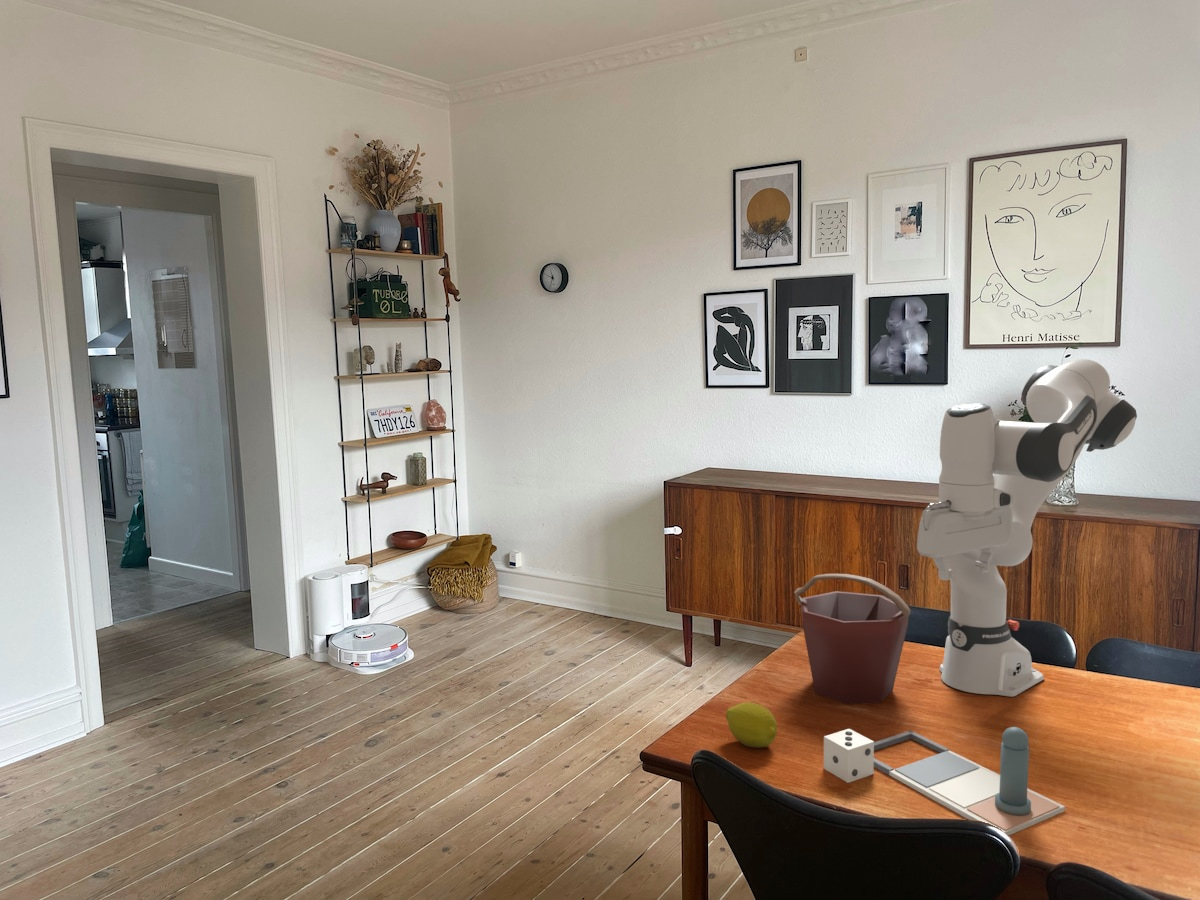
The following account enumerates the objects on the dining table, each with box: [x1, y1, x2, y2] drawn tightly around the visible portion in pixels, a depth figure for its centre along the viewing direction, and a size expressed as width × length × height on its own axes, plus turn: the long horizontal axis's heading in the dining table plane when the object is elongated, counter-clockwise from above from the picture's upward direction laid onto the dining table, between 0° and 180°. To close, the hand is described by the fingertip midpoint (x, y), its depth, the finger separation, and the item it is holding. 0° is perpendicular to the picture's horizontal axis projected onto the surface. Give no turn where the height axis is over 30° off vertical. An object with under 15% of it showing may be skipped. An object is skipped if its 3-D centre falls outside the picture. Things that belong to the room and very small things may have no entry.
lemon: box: [725, 701, 778, 749], centre depth 164 cm, size 11×8×8 cm
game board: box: [874, 729, 1066, 837], centre depth 149 cm, size 15×32×1 cm, turn 28°
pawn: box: [995, 726, 1031, 816], centre depth 138 cm, size 5×5×13 cm
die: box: [823, 728, 875, 784], centre depth 153 cm, size 6×6×6 cm
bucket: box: [793, 573, 911, 705], centre depth 188 cm, size 24×22×25 cm
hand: (964, 575), depth 153 cm, fingers open, 8 cm apart
